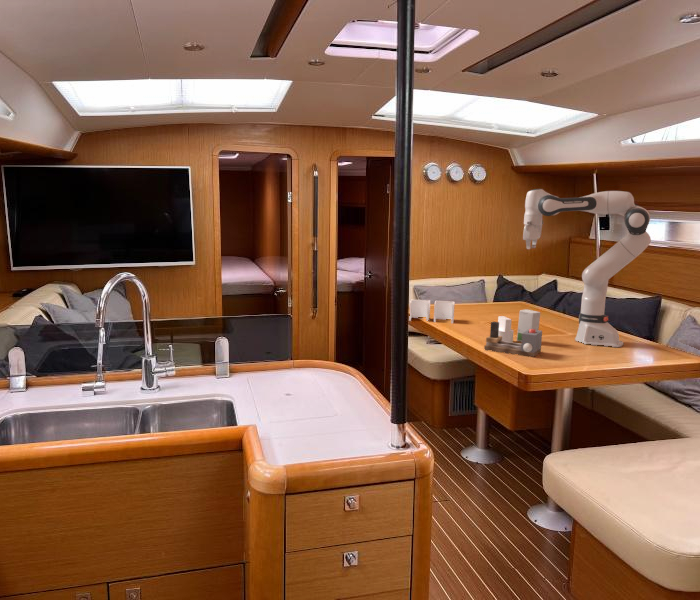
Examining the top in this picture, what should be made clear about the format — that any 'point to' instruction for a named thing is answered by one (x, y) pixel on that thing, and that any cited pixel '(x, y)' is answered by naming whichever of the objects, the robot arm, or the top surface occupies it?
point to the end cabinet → (531, 341)
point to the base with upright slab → (505, 329)
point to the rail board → (508, 348)
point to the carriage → (494, 333)
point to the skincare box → (527, 322)
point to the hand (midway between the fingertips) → (531, 248)
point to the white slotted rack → (440, 309)
